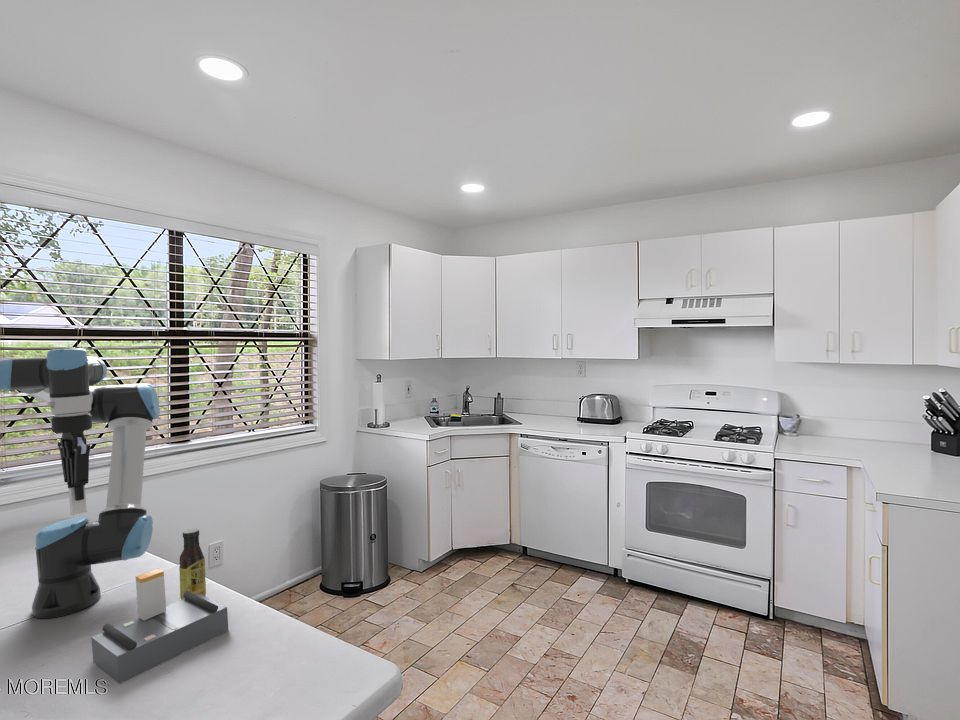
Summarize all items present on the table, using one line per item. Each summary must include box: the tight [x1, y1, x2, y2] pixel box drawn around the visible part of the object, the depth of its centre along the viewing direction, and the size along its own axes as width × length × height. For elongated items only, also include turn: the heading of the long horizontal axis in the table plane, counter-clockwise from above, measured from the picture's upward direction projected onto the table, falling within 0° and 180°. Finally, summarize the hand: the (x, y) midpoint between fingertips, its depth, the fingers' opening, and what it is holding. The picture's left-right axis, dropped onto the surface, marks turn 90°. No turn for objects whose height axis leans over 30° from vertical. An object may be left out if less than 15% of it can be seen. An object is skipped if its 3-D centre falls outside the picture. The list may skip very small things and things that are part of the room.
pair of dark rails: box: [101, 591, 218, 650], centre depth 126 cm, size 14×20×2 cm
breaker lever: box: [135, 568, 167, 620], centre depth 128 cm, size 3×5×10 cm, turn 145°
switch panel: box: [90, 593, 229, 685], centre depth 126 cm, size 14×24×6 cm, turn 145°
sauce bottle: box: [179, 528, 207, 600], centre depth 147 cm, size 7×6×20 cm
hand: (78, 512), depth 126 cm, fingers closed
